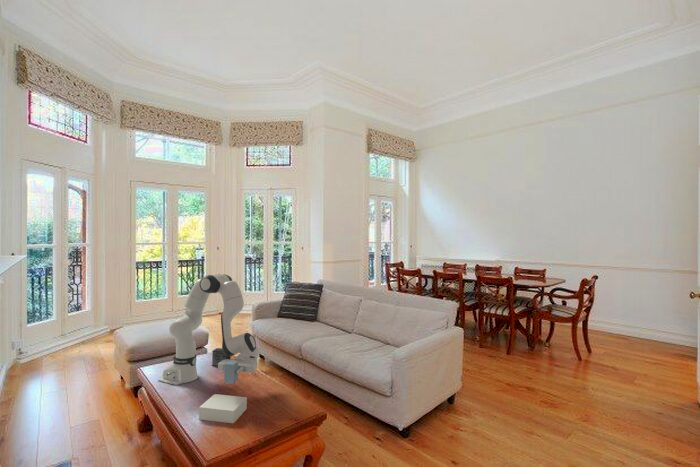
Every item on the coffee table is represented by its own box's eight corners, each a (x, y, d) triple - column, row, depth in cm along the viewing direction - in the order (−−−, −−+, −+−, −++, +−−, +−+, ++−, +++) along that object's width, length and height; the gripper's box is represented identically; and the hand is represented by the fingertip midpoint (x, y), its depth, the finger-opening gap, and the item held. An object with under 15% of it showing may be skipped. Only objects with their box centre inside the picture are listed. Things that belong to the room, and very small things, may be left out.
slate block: (224, 383, 181) (224, 363, 180) (229, 379, 185) (229, 360, 185) (233, 384, 180) (233, 364, 180) (237, 380, 185) (238, 361, 185)
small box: (231, 363, 242) (231, 348, 242) (226, 367, 236) (227, 351, 236) (216, 362, 243) (216, 347, 243) (211, 366, 237) (212, 350, 237)
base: (198, 419, 171) (199, 407, 171) (214, 405, 184) (214, 394, 184) (233, 423, 168) (233, 410, 168) (246, 408, 182) (246, 397, 182)
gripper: (225, 354, 197) (211, 364, 183) (259, 357, 194) (248, 367, 180) (225, 366, 197) (211, 376, 183) (259, 368, 194) (248, 379, 180)
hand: (230, 371), depth 182 cm, fingers closed on slate block, 5 cm apart
